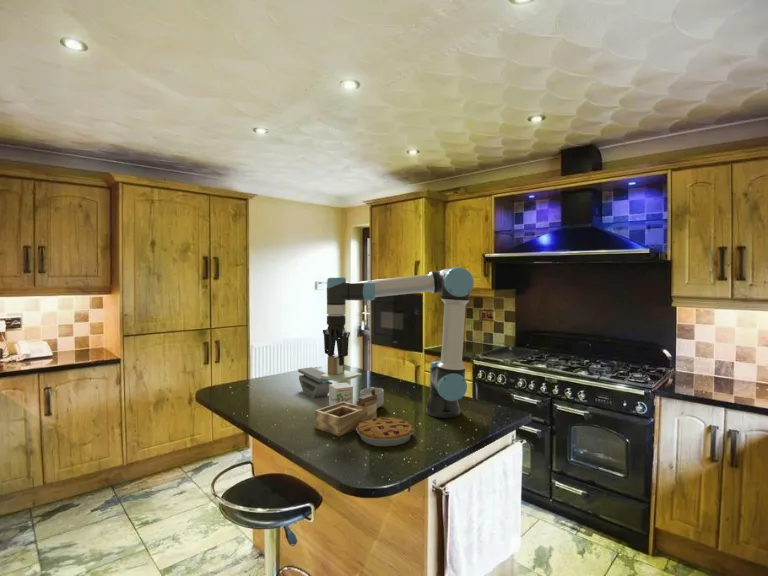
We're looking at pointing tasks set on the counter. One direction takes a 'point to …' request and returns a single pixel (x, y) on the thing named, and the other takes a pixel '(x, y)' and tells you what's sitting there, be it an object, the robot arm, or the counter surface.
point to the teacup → (377, 391)
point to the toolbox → (344, 416)
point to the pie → (385, 431)
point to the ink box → (340, 393)
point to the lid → (333, 371)
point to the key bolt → (367, 397)
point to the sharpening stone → (313, 382)
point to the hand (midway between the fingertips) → (336, 372)
